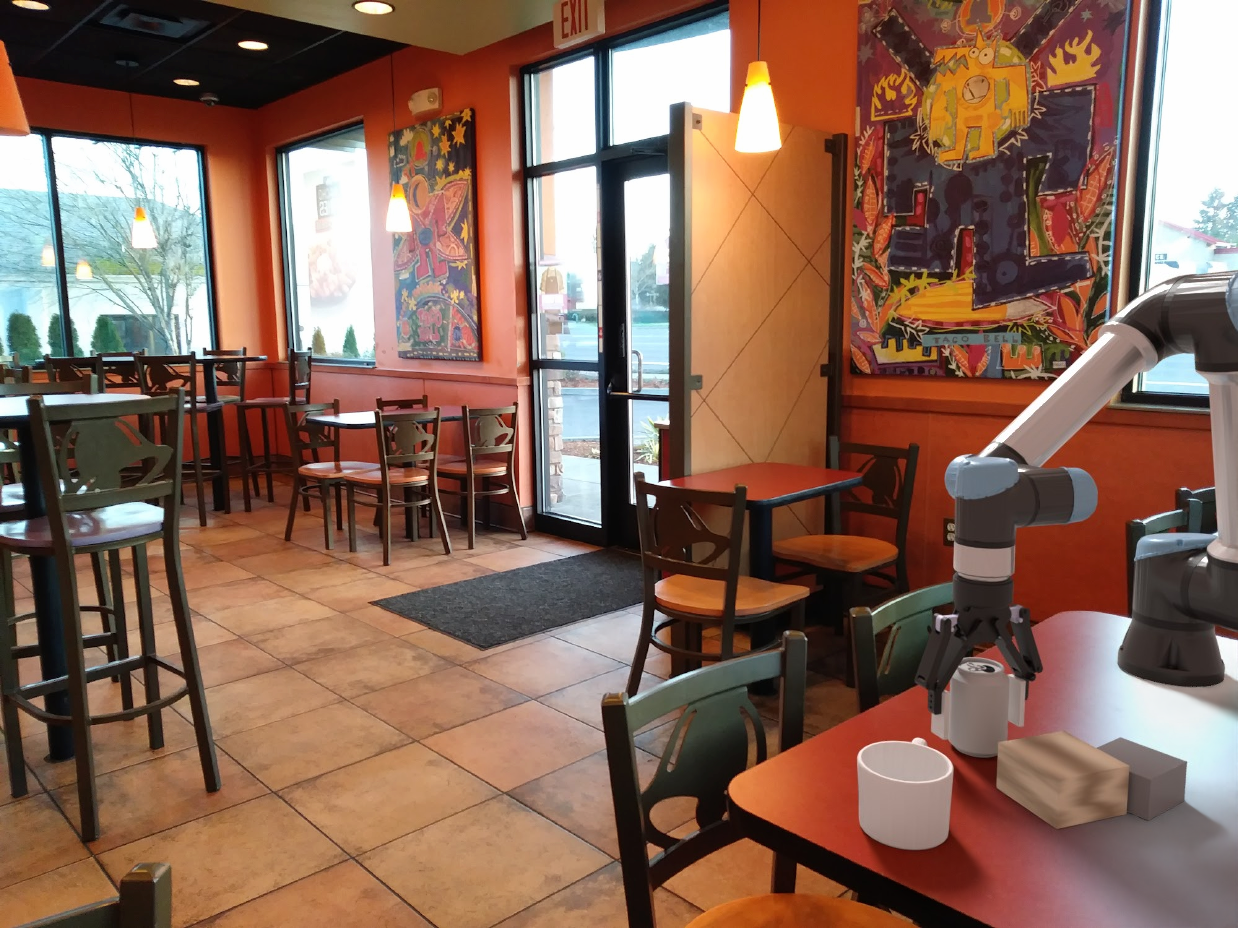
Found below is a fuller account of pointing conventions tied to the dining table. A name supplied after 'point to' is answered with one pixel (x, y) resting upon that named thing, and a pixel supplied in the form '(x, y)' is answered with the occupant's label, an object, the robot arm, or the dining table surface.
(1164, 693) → the dining table surface
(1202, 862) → the dining table surface
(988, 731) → the can
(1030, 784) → the birch block
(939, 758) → the mug
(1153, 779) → the slate block
